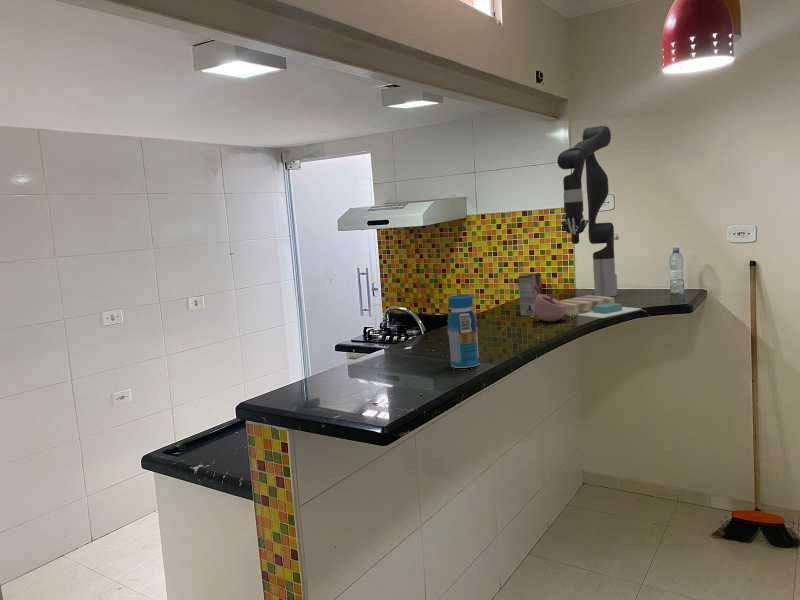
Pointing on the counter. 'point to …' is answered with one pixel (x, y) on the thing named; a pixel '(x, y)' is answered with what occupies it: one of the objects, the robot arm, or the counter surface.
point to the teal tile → (607, 308)
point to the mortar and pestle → (549, 307)
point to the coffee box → (529, 292)
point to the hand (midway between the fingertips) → (575, 243)
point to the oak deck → (585, 304)
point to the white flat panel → (600, 315)
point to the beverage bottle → (462, 332)
